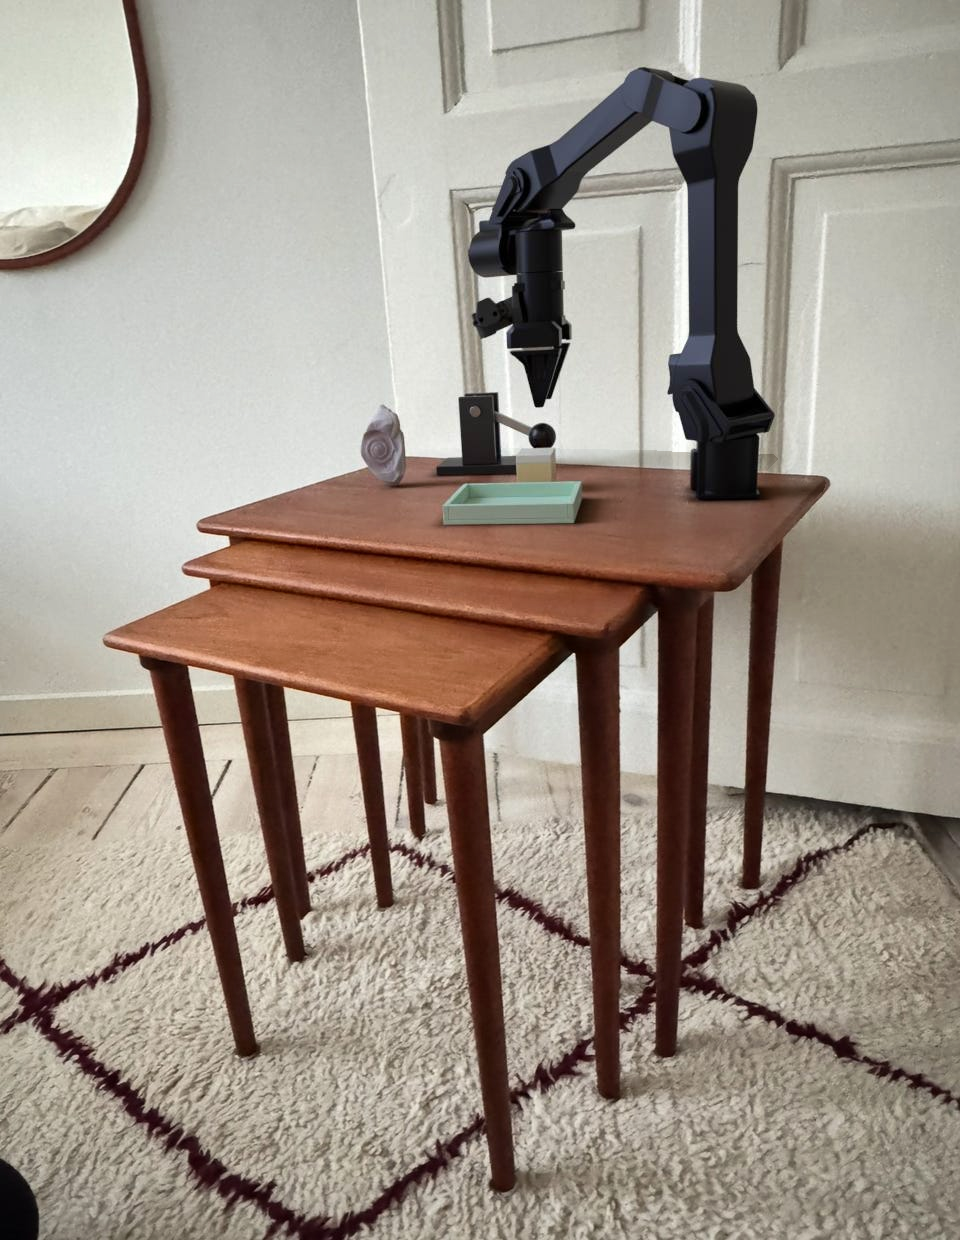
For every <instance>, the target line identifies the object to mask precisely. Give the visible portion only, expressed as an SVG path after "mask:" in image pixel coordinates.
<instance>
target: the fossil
mask: <svg viewBox="0 0 960 1240" xmlns="http://www.w3.org/2000/svg"><path fill="white" fill-rule="evenodd" d="M405 442H406V441H405V434H404V432H403V431H402V429H401V422H400V418H399V416H398V414H397V413H395V412H393V411H392V409H391V408H388V407H387V406H386V405H384V404H380V405H379V406H378V408H377V410H376V413H374V415H373V416H372V417H371V419H370V421H368V424H367V426H366V427H365V431H364V433H363V436H362V439H361V444H360V456H361V458H362V460H363V461H364V463H365V465H366V466H367V467H368V469H369V470H370V472H371V473H372V474H373V475H374V476H375V477H376V478H377V479H378V480H379V481H381V482H383V483H384V484H386V485H387V486H390V487H397V486H399V485H400V484H401V481H402V480H403V478H404V477H405V472H406V469H407V458H406V457H407V456H406V445H405Z"/></svg>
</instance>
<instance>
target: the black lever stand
mask: <svg viewBox="0 0 960 1240" xmlns="http://www.w3.org/2000/svg"><path fill="white" fill-rule="evenodd" d="M474 395H476V396H474ZM499 399H500V397H499V392H498V391H493V392H468V393H467V392H466V393H464V395H463V396H458V399H457V401H458V413H459V414H458V415H459V431H460V432H459V433H460V445H461V446H460V447H461V448H460V449H461V456H458V457H457V456H455V457H447V458H445V459H444V460H443V461H442V462H441V463H439V464H438V465H436V468H435V469H436V476H437V477H442V476H443V477H444V476H487V475H517V468H516V464H517V463H516V455H502V442H501V423H499V422H496V421H495V420H494V411H496V412H499V413H500V402H499V401H500V400H499Z"/></svg>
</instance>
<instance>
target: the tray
mask: <svg viewBox="0 0 960 1240" xmlns="http://www.w3.org/2000/svg"><path fill="white" fill-rule="evenodd" d="M582 500H583V482H582V480H579V481H577V480H576V481H575V480H574V481H556V482H521V483H517V482H481V483H479V482H478V483H475V482H473V483H463V484H462V485H461V486H460V487H459V488H458V489H457V490H456V491H455V492H454V493H453V494H452V495H451V497H449V498H448V499H447V500H446V501H445V502H444V503H443V505H442V515H443V517H442V519H443V525H446V526H449V525H451V526H454V525H455V526H456V525H457V526H458V525H459V526H460V525H464V526H465V525H531V524H532V525H535V524H536V525H538V524H539V525H540V524H541V525H542V524H547V525H549V524H574V523H575V521H576V518H577V515H578V512H579V509H580V506H581V503H582Z"/></svg>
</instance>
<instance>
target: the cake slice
mask: <svg viewBox="0 0 960 1240" xmlns="http://www.w3.org/2000/svg"><path fill="white" fill-rule="evenodd" d="M556 451H557V449H556V447H551V448H533V447H532V448H529V447H528V448H526V447H525V448H521V449H520V450H519V451H518V452H517V454H516V455H515V456H516V463H517V464H516V468H517V474H516V483H521V482H557V457H556V454H557V453H556Z"/></svg>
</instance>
